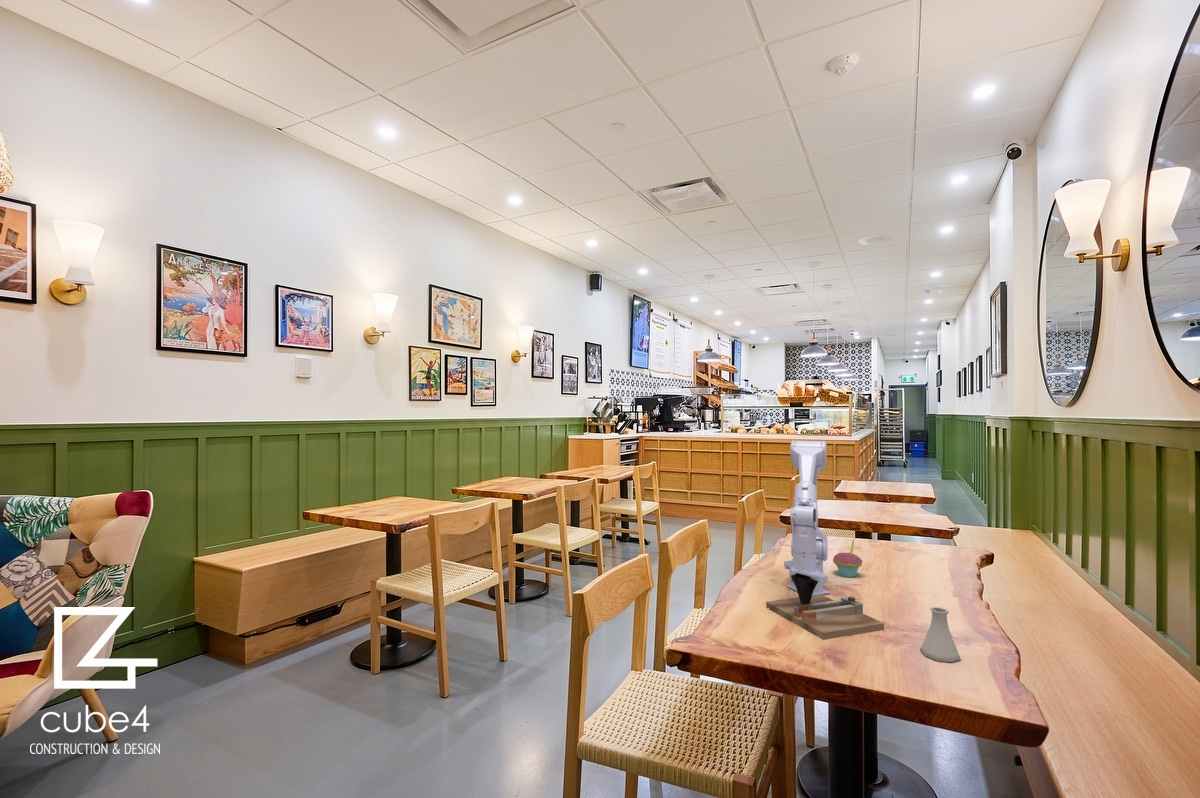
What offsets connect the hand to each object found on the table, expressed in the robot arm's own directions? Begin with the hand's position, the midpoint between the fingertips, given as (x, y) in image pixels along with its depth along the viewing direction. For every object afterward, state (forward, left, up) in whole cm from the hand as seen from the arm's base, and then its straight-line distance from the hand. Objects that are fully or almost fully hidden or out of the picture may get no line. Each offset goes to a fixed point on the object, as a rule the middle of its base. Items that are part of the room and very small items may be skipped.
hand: (805, 603), depth 145 cm
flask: (+30, +11, -3) cm, 32 cm away
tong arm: (+4, +1, -1) cm, 4 cm away
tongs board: (+4, +2, -3) cm, 5 cm away
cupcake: (-23, +35, -3) cm, 42 cm away
